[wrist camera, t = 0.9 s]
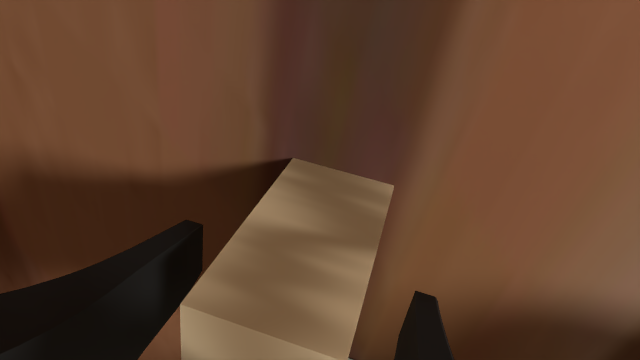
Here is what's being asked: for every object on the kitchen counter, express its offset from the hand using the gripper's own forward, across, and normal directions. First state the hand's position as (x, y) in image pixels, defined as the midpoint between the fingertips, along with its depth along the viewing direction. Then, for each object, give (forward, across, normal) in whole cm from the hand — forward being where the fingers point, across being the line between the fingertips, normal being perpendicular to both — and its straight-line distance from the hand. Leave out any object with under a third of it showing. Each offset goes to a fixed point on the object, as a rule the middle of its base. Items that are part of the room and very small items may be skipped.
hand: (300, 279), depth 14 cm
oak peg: (+4, 0, 0) cm, 4 cm away
